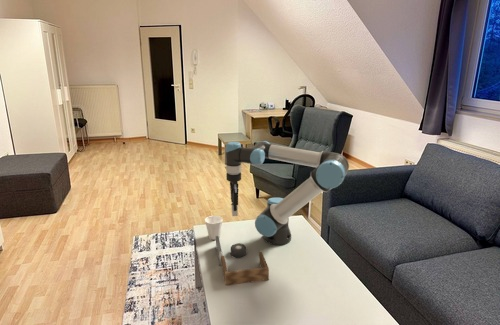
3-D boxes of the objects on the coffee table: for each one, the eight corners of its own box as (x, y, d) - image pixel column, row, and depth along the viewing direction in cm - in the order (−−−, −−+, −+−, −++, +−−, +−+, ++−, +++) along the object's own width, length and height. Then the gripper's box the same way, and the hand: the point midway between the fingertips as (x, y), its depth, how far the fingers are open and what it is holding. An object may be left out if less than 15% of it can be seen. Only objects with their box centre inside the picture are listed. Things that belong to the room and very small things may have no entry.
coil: (244, 248, 181) (244, 242, 179) (247, 256, 173) (247, 250, 172) (229, 250, 179) (229, 244, 178) (232, 258, 172) (231, 252, 170)
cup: (224, 233, 196) (224, 215, 193) (221, 242, 187) (221, 224, 184) (207, 232, 197) (206, 215, 194) (203, 241, 188) (202, 223, 184)
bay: (261, 262, 168) (261, 251, 167) (268, 279, 155) (268, 268, 153) (221, 266, 165) (221, 255, 163) (225, 285, 152) (225, 273, 150)
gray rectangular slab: (215, 246, 182) (215, 234, 180) (218, 245, 183) (218, 234, 181) (219, 266, 165) (219, 253, 163) (223, 265, 165) (222, 252, 163)
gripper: (224, 168, 181) (225, 209, 188) (228, 177, 167) (229, 221, 174) (238, 167, 182) (239, 208, 189) (243, 176, 169) (244, 220, 175)
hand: (234, 214), depth 182 cm, fingers closed
